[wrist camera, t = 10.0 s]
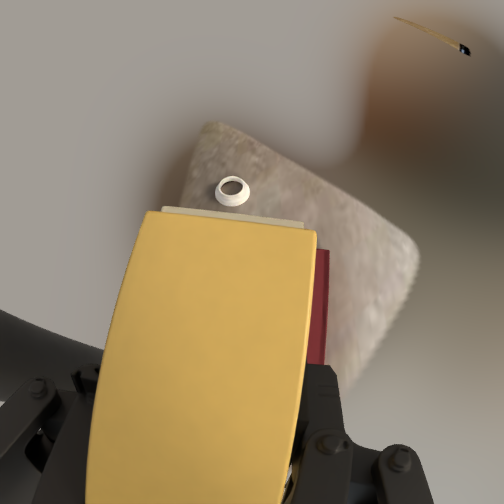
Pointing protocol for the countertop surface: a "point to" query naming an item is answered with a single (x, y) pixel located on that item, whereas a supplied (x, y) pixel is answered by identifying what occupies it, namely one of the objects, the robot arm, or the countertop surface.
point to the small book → (203, 362)
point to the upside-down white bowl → (232, 199)
